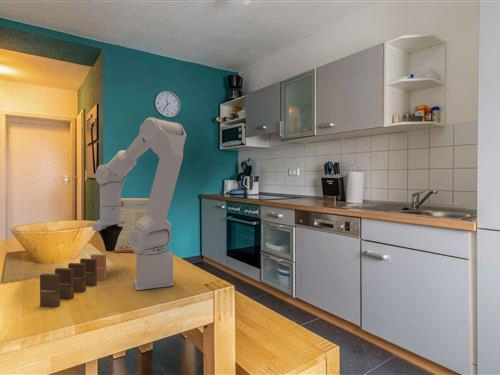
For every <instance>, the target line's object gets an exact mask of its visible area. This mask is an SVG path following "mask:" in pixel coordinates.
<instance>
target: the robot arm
mask: <svg viewBox="0 0 500 375" xmlns="http://www.w3.org/2000/svg"><path fill="white" fill-rule="evenodd" d="M186 139H187V133H186V131H185V129H184V127H183V125H182V124H180V123H179V122H173V121H172V122H171V121H168V120H164V119H159V118H157V117H152V116H150V117H149V116H148V117H147V118H145V120H144V121H143V122H142V123H141V124H140V126H139V134H138V135H137V137H135V138H134V140H133V141H132V143H131V144H130V145H129V147H128V148H127V149H126V150H124V149H123V150H118V152H116V155H114V156H113V158H112V159H111V160H109V162H108V163H105V164H100V165H98V166H97V168H96V171H95V180H96V182H97V184H98V185H99V219H97V220H96V222H94V223H92V231H94V232H95V231H96V232H97V233H98V234H99V235H100V237H101V239H102V242H103V245H104V248H105V251H106V252H113V251H115V247H116V244H117V240H118V237H119V235H120V233H121V231H122V229H123V227H122V226H118V225H120V224H125V223H126V218H123V217H121V198H122V197H121V196H122V190H123V189H124V188H123V187H124V186H123V185H124V182H125V180H126V175H128V173H129V172H131V170H132V169H133V168H134V167H136V166H137V159H138V158H139V157H141V156H142V155H143V154H144V153H145V152H146V151H148V150H149V149H151V150H152V151H153V152H154V153H155V154H156V155H157V156H158V159H159V160H158V164H157V167H156V172H155V175H154V179H153V182H152V183H153V184H152V186H151V191H150V194H149V198H148V199H149V202H148V205H147V209H146V213H145V215H144V216H143V217H142V218H141V219H140V220H138V221H137V222H136V223H135V227H134V229H133V230H132V232H131V233H130V236H129V244H130V247H131V248H132V250H133V251H134V254H135V256H136V259H135V261H136V263H135V264H136V266H135V267H136V271H135V272H136V274H135V276H136V278H135V279H133V283H134V284H133V285H134V289H135V291H142V290H143V291H144V290H149V289H157V288H165V287H172V286H174V255H173V251H172V250H171V249H168V248H167V247H168V246H169V245H170V243H171V240H172V234H171V231H172V227H173V226H172V223H171V222H170V221H169V220H168V219H167V217H168V213H169V209H170V207H171V202H172V199H173V195H174V192H175V188H176V185H177V182H178V181H177V180H178V178H179V173H180V170H181V166H182V162H183V158H184V146H185V143H186ZM167 249H168V250H167Z"/></svg>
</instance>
